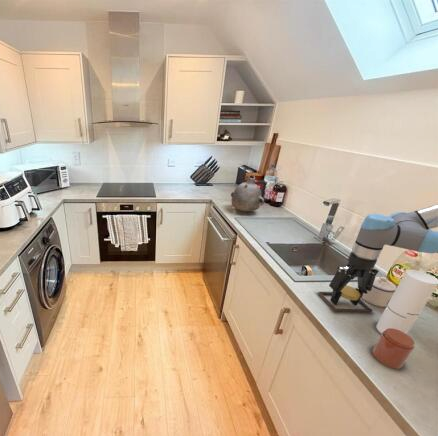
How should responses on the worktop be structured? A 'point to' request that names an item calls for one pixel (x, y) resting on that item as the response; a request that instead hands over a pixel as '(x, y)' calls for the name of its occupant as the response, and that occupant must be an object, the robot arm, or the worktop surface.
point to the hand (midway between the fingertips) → (343, 302)
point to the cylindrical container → (407, 301)
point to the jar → (393, 348)
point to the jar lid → (350, 293)
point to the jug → (247, 196)
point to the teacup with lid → (380, 292)
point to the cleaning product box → (260, 186)
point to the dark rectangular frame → (366, 310)
